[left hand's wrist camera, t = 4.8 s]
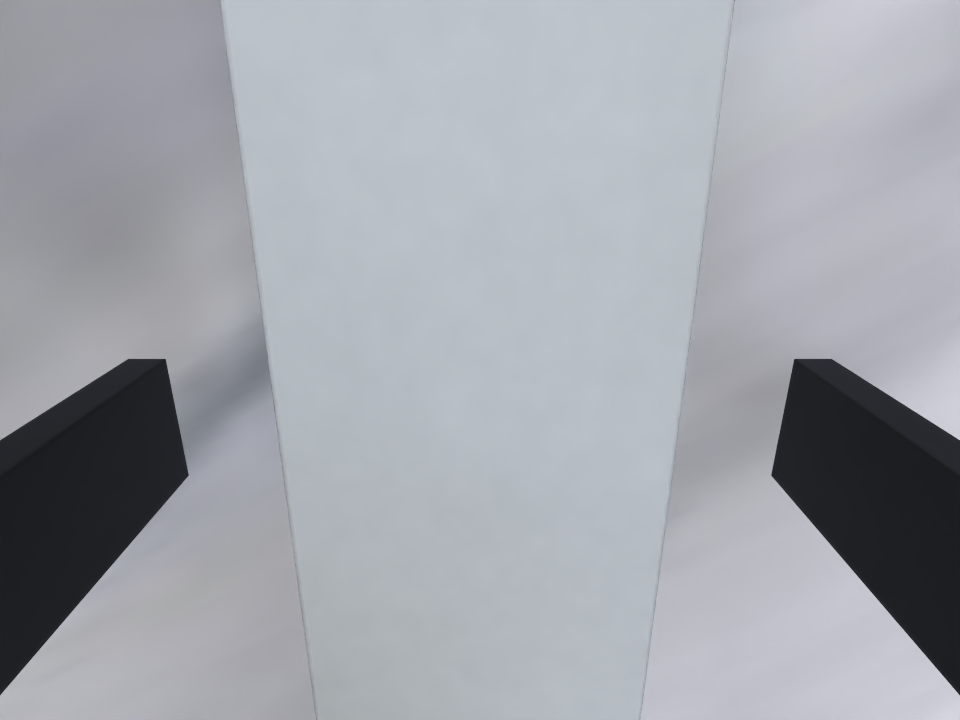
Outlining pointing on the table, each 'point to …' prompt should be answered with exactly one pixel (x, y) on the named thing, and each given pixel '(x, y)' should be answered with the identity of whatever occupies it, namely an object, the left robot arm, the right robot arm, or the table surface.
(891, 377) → the table surface
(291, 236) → the post
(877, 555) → the left robot arm
